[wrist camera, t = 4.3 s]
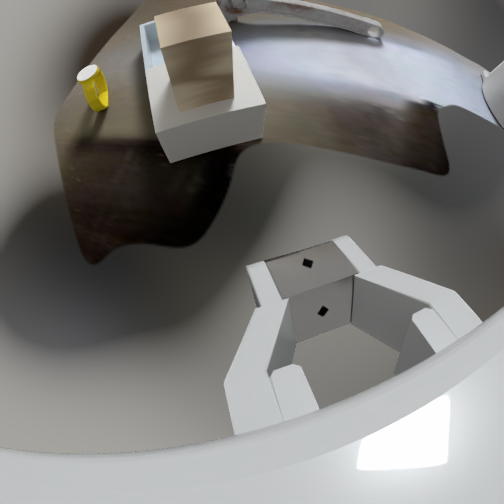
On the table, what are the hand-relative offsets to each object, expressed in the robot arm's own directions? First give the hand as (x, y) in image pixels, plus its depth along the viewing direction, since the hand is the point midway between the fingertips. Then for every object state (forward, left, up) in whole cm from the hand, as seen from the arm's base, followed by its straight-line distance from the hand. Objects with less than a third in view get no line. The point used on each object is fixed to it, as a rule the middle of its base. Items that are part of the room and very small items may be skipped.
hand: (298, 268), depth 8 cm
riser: (0, -20, -19) cm, 27 cm away
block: (0, -19, -13) cm, 23 cm away
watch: (+12, -28, -19) cm, 36 cm away
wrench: (-16, -36, -19) cm, 44 cm away
